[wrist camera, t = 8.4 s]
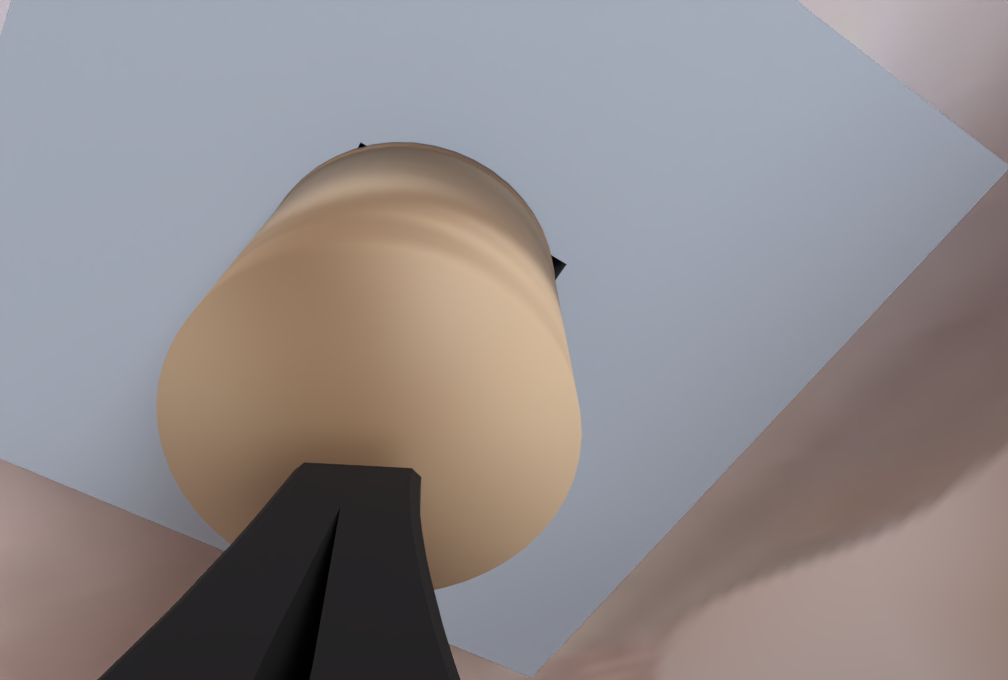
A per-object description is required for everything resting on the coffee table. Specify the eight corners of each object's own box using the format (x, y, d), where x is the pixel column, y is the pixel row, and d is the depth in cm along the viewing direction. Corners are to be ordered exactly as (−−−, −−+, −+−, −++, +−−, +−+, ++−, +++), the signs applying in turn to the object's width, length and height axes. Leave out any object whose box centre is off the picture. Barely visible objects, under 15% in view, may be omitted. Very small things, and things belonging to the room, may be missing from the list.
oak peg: (564, 135, 15) (614, 263, 9) (533, 378, 17) (555, 606, 11) (277, 109, 15) (126, 223, 8) (289, 360, 17) (178, 585, 11)
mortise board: (950, 141, 15) (1010, 166, 14) (527, 617, 22) (531, 677, 20) (209, -426, 11) (157, -497, 9) (-49, 365, 17) (-111, 412, 16)
